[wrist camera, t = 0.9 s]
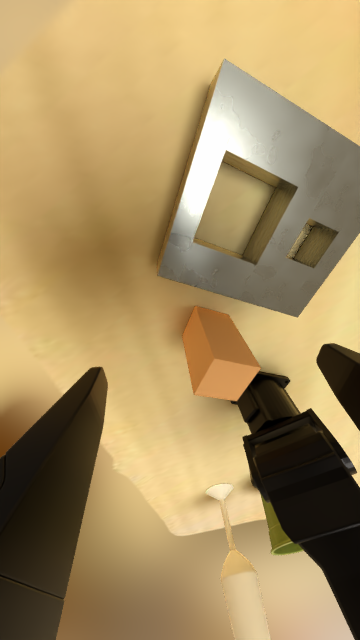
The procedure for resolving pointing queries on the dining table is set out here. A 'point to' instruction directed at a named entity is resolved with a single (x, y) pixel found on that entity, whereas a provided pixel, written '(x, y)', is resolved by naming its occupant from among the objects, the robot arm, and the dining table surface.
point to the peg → (217, 356)
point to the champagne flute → (240, 583)
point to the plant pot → (278, 533)
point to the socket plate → (284, 206)
